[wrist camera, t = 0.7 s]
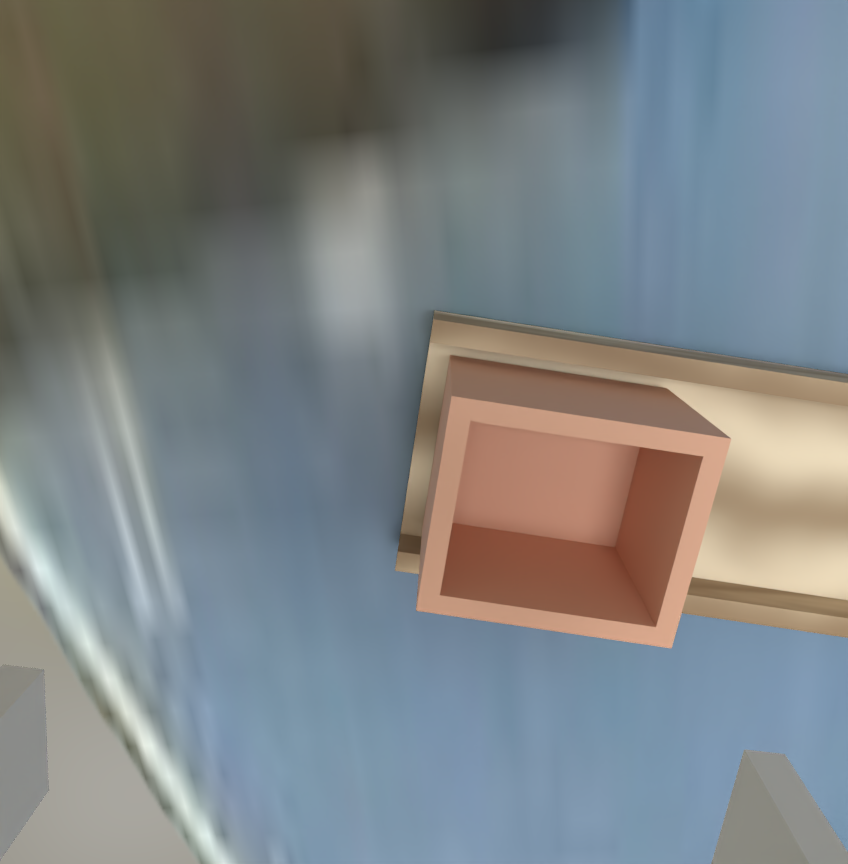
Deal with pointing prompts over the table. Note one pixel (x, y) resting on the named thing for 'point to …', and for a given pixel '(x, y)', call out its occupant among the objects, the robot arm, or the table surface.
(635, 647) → the table surface
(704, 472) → the box
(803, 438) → the bay
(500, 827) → the table surface
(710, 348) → the table surface
